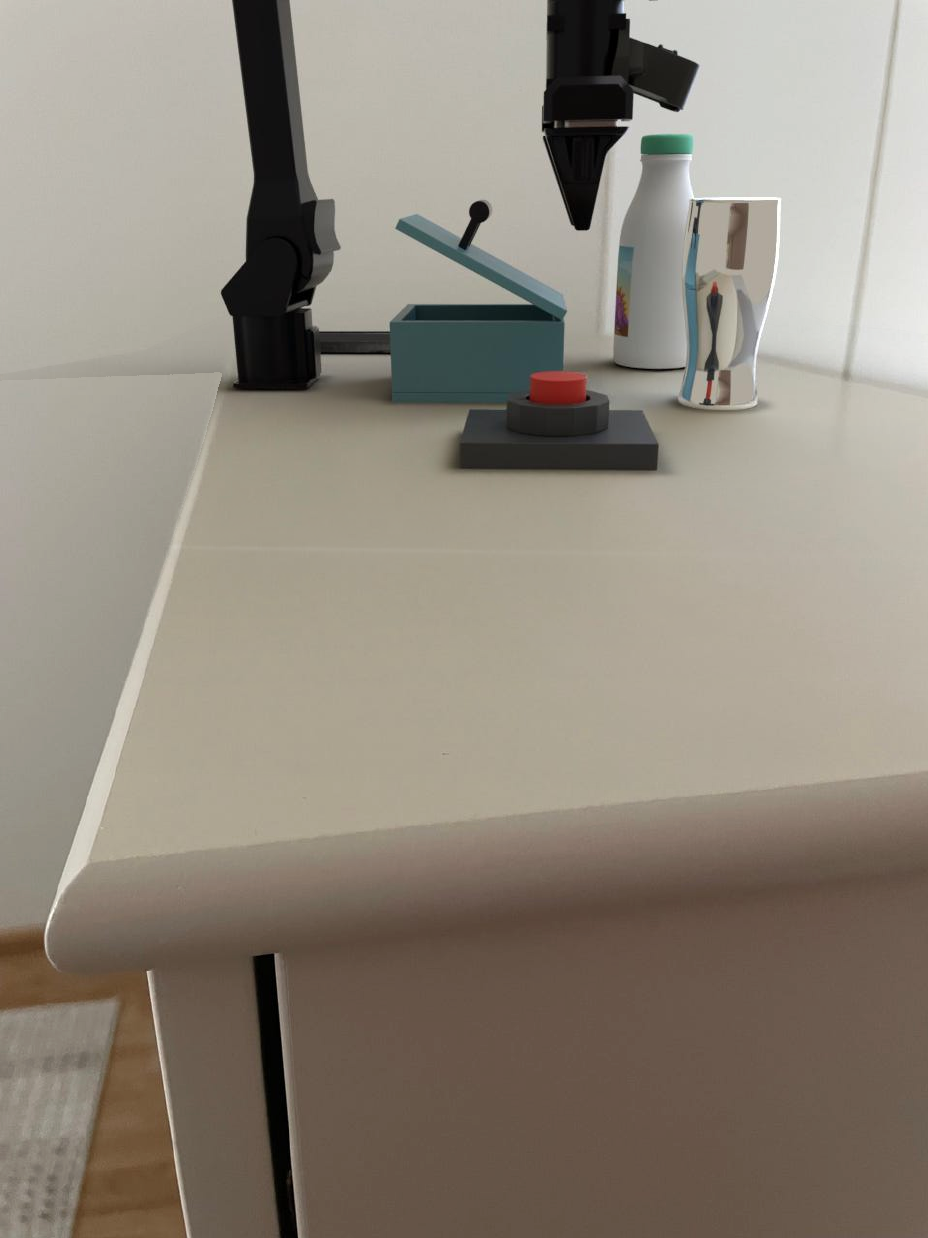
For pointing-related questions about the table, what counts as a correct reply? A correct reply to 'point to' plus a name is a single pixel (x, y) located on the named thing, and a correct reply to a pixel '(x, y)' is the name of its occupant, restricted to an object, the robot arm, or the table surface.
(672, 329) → the milk bottle
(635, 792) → the table surface
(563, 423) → the control box
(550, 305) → the lid
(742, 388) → the beer glass
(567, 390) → the power button
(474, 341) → the teal rectangular box
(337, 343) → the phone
